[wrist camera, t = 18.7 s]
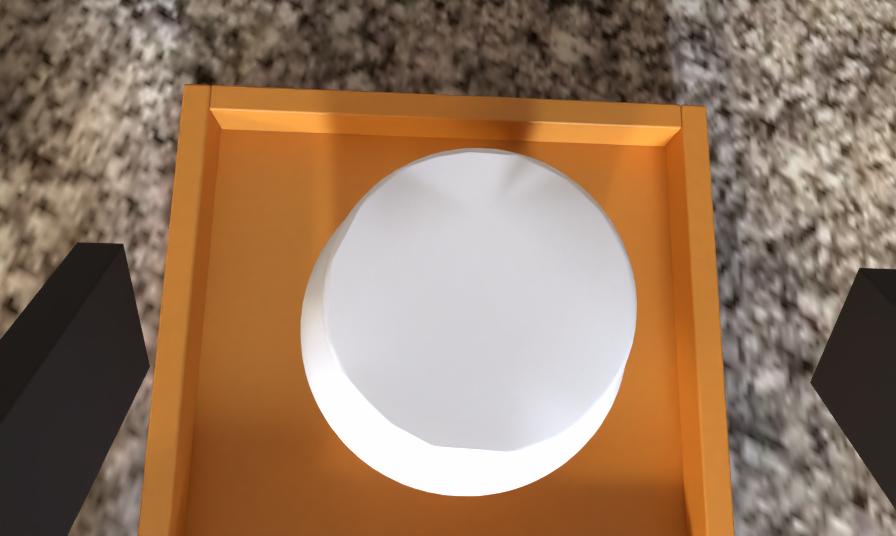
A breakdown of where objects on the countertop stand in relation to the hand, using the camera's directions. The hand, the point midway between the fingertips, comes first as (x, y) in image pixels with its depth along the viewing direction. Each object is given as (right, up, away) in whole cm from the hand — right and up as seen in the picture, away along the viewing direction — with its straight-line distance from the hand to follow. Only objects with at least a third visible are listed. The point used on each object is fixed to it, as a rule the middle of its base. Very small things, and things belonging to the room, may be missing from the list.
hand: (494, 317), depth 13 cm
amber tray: (-1, -2, +9) cm, 9 cm away
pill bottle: (-1, -2, +8) cm, 8 cm away
